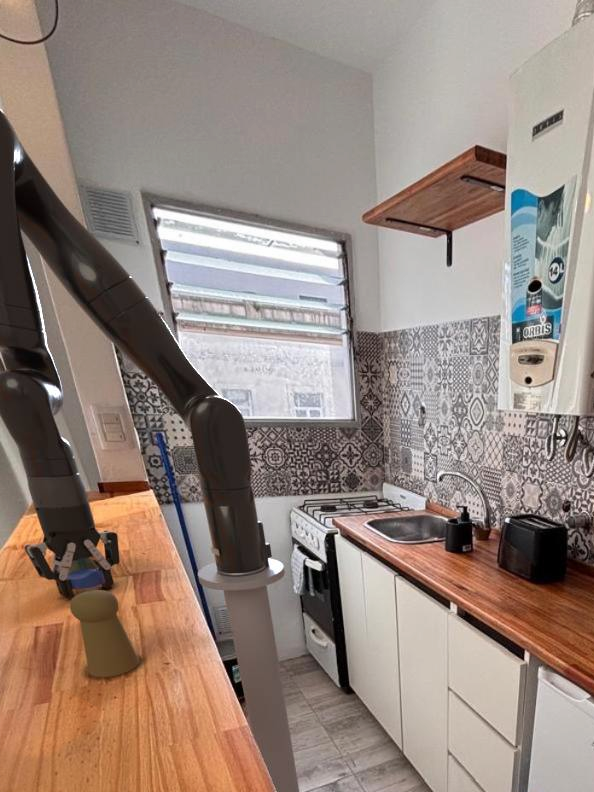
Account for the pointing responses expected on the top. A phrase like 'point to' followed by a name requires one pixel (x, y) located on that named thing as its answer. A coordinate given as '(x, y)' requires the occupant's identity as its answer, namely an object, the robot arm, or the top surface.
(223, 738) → the top surface
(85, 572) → the jar lid
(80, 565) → the jam jar
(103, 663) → the cork
